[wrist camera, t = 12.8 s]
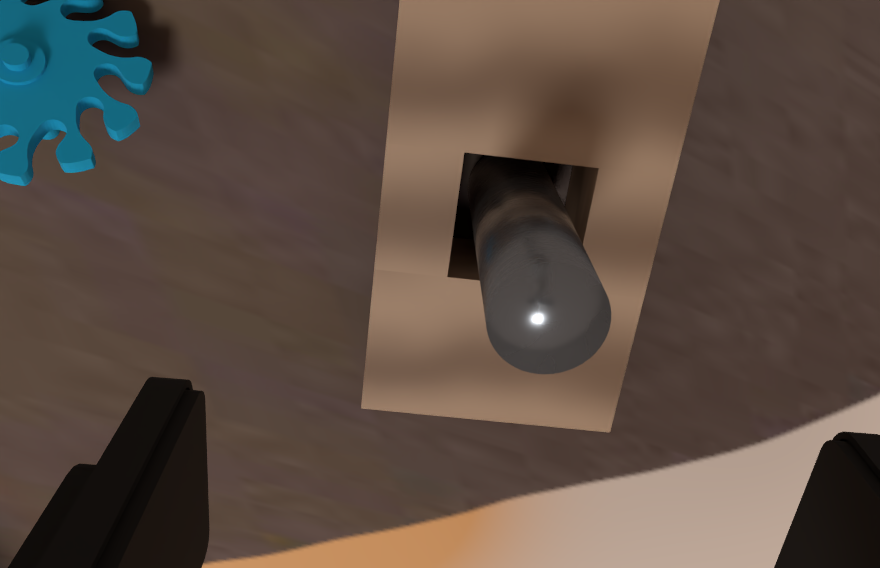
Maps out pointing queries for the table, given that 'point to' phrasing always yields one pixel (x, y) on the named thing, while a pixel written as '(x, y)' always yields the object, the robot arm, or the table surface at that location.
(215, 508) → the table surface
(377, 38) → the table surface
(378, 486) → the table surface
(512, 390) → the hole block
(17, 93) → the gear
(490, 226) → the long pin
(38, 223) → the table surface
